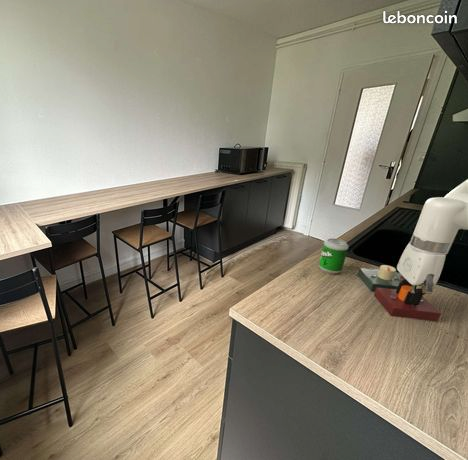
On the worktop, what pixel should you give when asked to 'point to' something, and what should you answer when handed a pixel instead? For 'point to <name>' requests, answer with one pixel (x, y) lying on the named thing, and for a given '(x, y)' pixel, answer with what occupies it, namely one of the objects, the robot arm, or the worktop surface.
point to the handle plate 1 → (377, 279)
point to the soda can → (333, 255)
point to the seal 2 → (403, 292)
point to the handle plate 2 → (406, 306)
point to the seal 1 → (386, 272)
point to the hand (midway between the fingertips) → (406, 298)
